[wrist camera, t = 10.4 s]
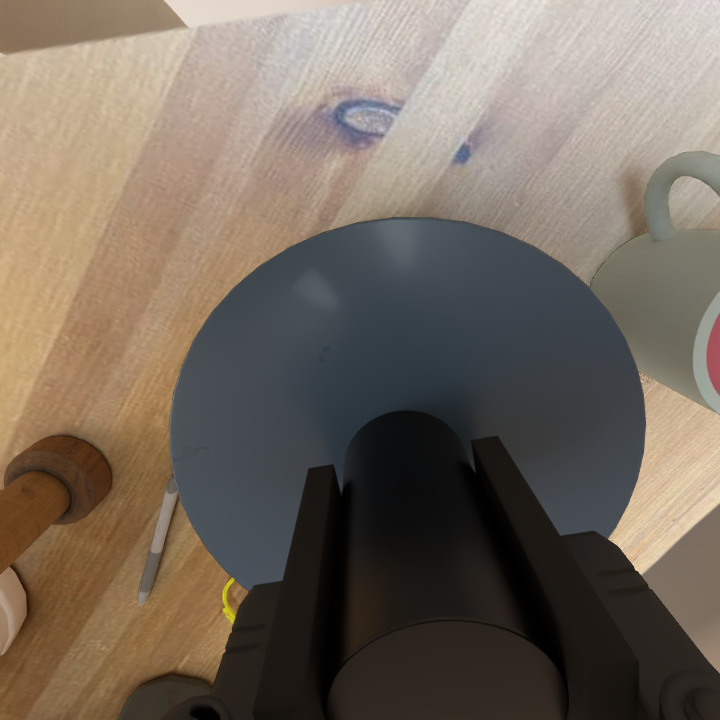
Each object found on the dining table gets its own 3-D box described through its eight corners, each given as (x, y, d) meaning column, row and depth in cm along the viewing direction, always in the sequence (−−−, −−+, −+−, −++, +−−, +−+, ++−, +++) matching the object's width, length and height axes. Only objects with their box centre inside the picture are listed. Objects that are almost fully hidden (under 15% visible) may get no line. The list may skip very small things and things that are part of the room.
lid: (116, 274, 13) (-281, 355, 5) (620, 166, 12) (1137, 50, 4) (251, 639, 18) (157, 990, 10) (628, 584, 17) (878, 926, 9)
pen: (188, 467, 33) (181, 477, 32) (151, 598, 37) (143, 612, 36) (175, 463, 33) (167, 473, 32) (140, 594, 37) (131, 608, 36)
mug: (737, 331, 29) (916, 382, 20) (605, 383, 31) (714, 456, 21) (696, 130, 26) (892, 76, 16) (548, 200, 27) (648, 187, 17)
